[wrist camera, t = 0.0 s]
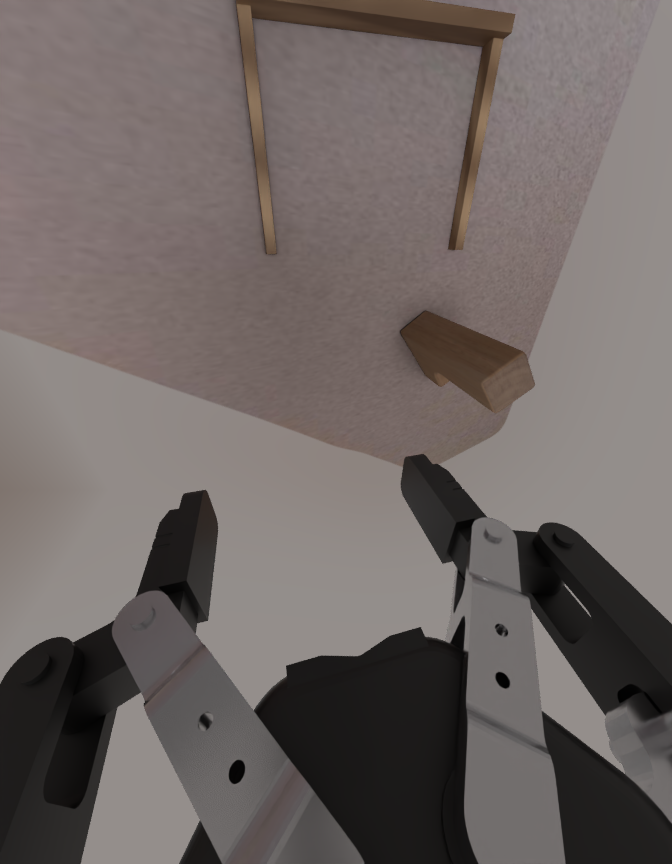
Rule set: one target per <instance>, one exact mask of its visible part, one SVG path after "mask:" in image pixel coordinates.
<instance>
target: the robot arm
mask: <svg viewBox="0 0 672 864" xmlns="http://www.w3.org/2000/svg"><path fill="white" fill-rule="evenodd" d="M401 490H402V494H403V497H404V498H405V500H406V502H407V504H408V505H409V507H410V508H411V510H412V512H413V514H414V516H415V517H416V519H417V521H418V522H419V524H420V526H421V527H422V529H423V531H424V533H425V534H426V536H427V538H428V539H429V541H430V543H431V544H432V546H433V548H434V550H435V551H436V553H437V555H438V556H439V558H440V560H441V562H442V563H447V562H451V561H453V562H454V564H455V565H456V567H457V568H456V571H455V579H454V587H453V597H452V606H451V615H450V621H449V626H448V630H447V634H446V640H445V641H443V640H439V639H437V638H431V637H425V636H424V634H423V631H422V629H421V627H419V628H416V629H412V630H409V631H405V632H402V633H399V634H395V635H391V636H389V637H388V638H386V639H385V640H383V641H382V642H380V643H379V644H377V645H376V646H374V647H373V648H371V649H370V650H368V651H367V652H365V653H364V654H362V655H360V656H318V657H315V658H311V659H308V660H304V661H301V662H298V663H294V664H291V665H287V666H286V669H287V677H285V678H284V679H282V680H281V681H279V682H278V683H277V684H276V685H275V686H273V687H272V688H271V689H270V690H269V691H268V692H267V694H266V695H265V696H264V697H263V698H262V700H261V701H260V702H259V704H258V705H257V706H256V708H255V709H254V711H253V709H252V708H251V707H250V705H249V704H248V703H247V702H246V700H245V699H244V697H243V696H242V694H241V693H240V692H239V690H238V689H237V688H236V686H235V685H234V684H233V682H232V681H231V680H230V678H229V677H228V676H227V674H226V673H225V672H224V670H223V669H222V668H221V666H220V665H219V664H218V662H217V661H216V659H215V658H214V657H213V655H212V654H211V653H210V651H209V650H208V649H207V648H206V646H205V645H203V643H202V642H201V641H200V639H199V638H198V637H197V635H196V627H197V623H200V622H204V621H208V616H209V607H210V597H211V589H212V580H213V572H214V562H215V553H216V545H217V535H218V523H217V518H216V515H215V512H214V509H213V506H212V504H211V501H210V498H209V495H208V493H207V491H206V490H202V491H196V492H190V493H185V494H184V495H183V496H182V500H181V503H180V507H179V509H174V510H170V511H169V512H168V513H167V514H166V516H165V517H164V518H163V519H162V521H161V522H160V524H159V527H158V530H157V533H156V539H155V540H154V542H153V545H152V550H151V552H150V555H149V558H148V561H147V565H146V567H145V571H144V574H143V577H142V580H141V583H140V586H139V589H138V592H137V595H136V597H135V598H134V599H132V600H131V601H130V602H128V603H127V604H126V605H125V606H124V607H123V608H122V610H121V611H120V612H119V613H118V615H117V617H116V619H115V620H114V621H113V622H111V623H110V624H108V625H106V626H104V627H102V628H100V629H98V630H96V631H94V632H93V633H91V634H89V635H87V636H85V637H83V638H81V639H79V640H77V641H75V642H72V641H70V640H69V639H67V638H64V637H56V638H51V639H49V640H46V641H44V642H42V643H39V644H38V645H36V646H35V647H33V648H32V649H30V650H29V651H27V652H26V653H25V654H24V655H23V656H21V657H20V658H19V659H18V660H17V661H16V662H15V663H14V664H13V666H12V667H11V668H10V669H9V671H8V672H7V673H6V675H5V676H4V678H3V680H2V682H1V684H0V864H80V863H81V859H82V855H83V851H84V847H85V842H86V838H87V834H88V829H89V825H90V821H91V817H92V813H93V808H94V804H95V800H96V796H97V791H98V787H99V783H100V778H101V774H102V770H103V765H104V762H105V757H106V753H107V749H108V745H109V740H110V736H111V732H112V728H113V724H114V719H115V715H116V710H117V707H118V706H120V705H122V704H123V703H125V702H126V701H128V700H129V699H131V698H132V697H134V696H136V695H137V694H139V693H142V695H143V697H144V700H145V703H144V708H145V711H146V713H147V716H148V718H149V720H150V722H151V724H152V726H153V728H154V730H155V732H156V734H157V736H158V738H159V740H160V742H161V744H162V745H163V748H164V749H165V752H166V753H167V755H168V757H169V759H170V761H171V763H172V765H173V767H174V769H175V771H176V773H177V775H178V777H179V779H180V781H181V783H182V785H183V787H184V789H185V791H186V793H187V795H188V797H189V799H190V801H191V803H192V805H193V807H194V809H195V811H196V813H197V815H198V817H199V819H200V821H199V823H198V826H197V828H196V830H195V832H194V834H193V836H192V838H191V840H190V842H189V844H188V846H187V848H186V851H185V853H184V855H183V857H182V859H181V861H180V863H179V864H672V624H671V623H670V622H669V621H668V620H667V619H666V618H665V617H664V616H663V615H662V614H661V613H660V612H659V611H658V610H656V608H655V607H653V605H652V604H650V603H649V602H648V601H647V600H646V599H645V598H644V597H643V596H642V595H641V594H640V593H639V592H638V591H637V590H636V589H635V588H634V587H633V586H632V585H631V584H630V583H629V582H628V581H627V580H626V579H625V578H624V577H623V576H622V575H620V574H619V572H618V571H617V570H615V569H614V567H612V566H611V565H610V564H609V563H608V562H607V561H606V560H605V559H604V558H603V557H602V556H601V555H600V554H599V553H598V552H597V551H596V550H595V549H594V548H593V547H592V546H591V545H590V544H589V543H588V542H587V541H586V540H585V539H584V538H583V537H582V536H580V535H579V534H578V533H577V532H576V531H574V530H572V529H571V528H569V527H567V526H565V525H562V524H558V523H545V524H543V525H541V526H540V528H539V530H538V532H527V531H515V530H511V529H510V528H509V527H508V526H507V525H506V524H504V523H503V522H501V521H499V520H496V519H493V518H488V517H487V516H486V515H485V514H484V513H483V512H482V511H481V510H480V508H479V507H478V506H477V505H476V504H475V502H474V501H473V500H472V499H471V498H470V496H469V495H468V494H467V493H466V492H465V491H464V489H462V487H461V486H460V484H459V483H458V482H456V480H455V478H454V477H453V476H452V475H451V474H450V473H449V471H447V470H446V469H444V468H443V467H441V466H440V465H438V464H432V463H431V462H430V461H429V459H428V458H427V457H426V456H425V455H424V454H420V455H414V456H408V457H406V458H405V459H404V465H403V472H402V478H401ZM564 584H566V585H567V586H568V587H569V589H570V590H571V591H572V592H573V593H574V595H575V596H576V597H577V598H578V599H579V601H580V602H581V603H582V604H583V605H584V607H585V608H586V609H587V610H588V612H589V613H590V615H591V617H590V616H589V615H588V614H587V612H586V611H585V610H584V609H583V608H582V606H581V605H580V604H579V603H578V602H577V600H576V599H575V598H574V597H573V596H572V594H571V593H570V592H569V591H568V590H567V589H566V587H565V586H564ZM531 609H532V610H533V612H534V613H535V614H536V616H537V617H538V619H539V620H540V622H541V623H542V625H543V626H544V628H545V629H546V630H547V632H548V633H549V635H550V636H551V638H552V639H553V640H554V642H555V643H556V645H557V646H558V648H559V649H560V651H561V652H562V653H563V655H564V656H565V658H566V659H567V661H568V662H569V664H570V665H571V667H572V668H573V669H574V671H575V672H576V674H577V675H578V677H579V678H580V680H581V681H582V682H583V684H584V685H585V687H586V688H587V690H588V691H589V693H590V694H591V695H592V697H593V698H594V700H595V701H596V703H597V704H598V706H599V707H600V708H601V710H602V711H603V713H604V714H605V716H606V718H605V726H606V730H607V734H608V737H609V739H610V741H609V745H610V748H611V751H612V753H613V755H614V756H615V758H616V759H617V760H618V761H619V762H620V763H621V764H622V765H623V768H624V770H625V774H624V773H623V772H621V771H620V770H619V769H617V768H616V767H615V766H613V765H612V764H611V763H610V762H608V761H607V760H606V759H604V758H603V757H602V756H600V755H599V754H598V753H596V752H595V751H594V750H592V749H591V748H590V747H588V746H587V745H586V744H585V743H583V742H582V741H581V740H579V739H578V738H577V737H576V736H574V735H573V734H572V733H570V732H569V731H568V730H566V729H565V728H564V727H562V726H561V725H560V724H558V723H557V722H556V721H555V720H553V719H552V718H551V717H549V716H548V715H547V714H545V713H544V712H543V711H542V710H541V700H540V691H539V681H538V671H537V663H536V652H535V642H534V633H533V623H532V614H531Z"/></svg>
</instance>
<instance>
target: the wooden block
mask: <svg viewBox="0 0 672 864" xmlns="http://www.w3.org/2000/svg"><path fill="white" fill-rule="evenodd" d="M401 335H402V337H403V338H404V340H405V342H406V343H407V345H408V347H409V348H410V350H411V352H412V353H413V355H414V357H415V359H416V360H417V362H418V364H419V365H420V367H421V369H422V370H423V372H424V374H425V375H426V376H427V377H428V378H429V379H430V380H432V381H433V382H434V383H435V384H437V385H438V386H440V387H442V386H443V385H445V384H446V383H447V382H449V381H451V382H452V383H454V384H455V385H456V386H458V387H459V388H460V389H462V390H463V391H465V392H466V393H467V394H469V395H470V396H471V397H473V398H474V399H476V400H477V401H478V402H480V403H481V404H482V405H484V406H485V407H487V408H488V409H489V410H491V411H492V412H494V413H497V412H499V411H501V410H502V409H504V408H505V407H507V406H508V405H509V404H511V403H512V402H514V401H515V400H516V399H518V398H519V397H521V396H522V395H524V394H525V393H526V392H528V391H529V390H531V389H532V388H533V387H534V386H535V383H534V380H533V376H532V373H531V370H530V366H529V363H528V359H527V356H526V354H525V353H524V352H523V351H521V350H518V349H516V348H514V347H511V346H509V345H507V344H504V343H502V342H499V341H497V340H495V339H492V338H490V337H488V336H485V335H483V334H480V333H478V332H476V331H473V330H471V329H469V328H466V327H464V326H461V325H459V324H457V323H454V322H452V321H450V320H447V319H445V318H442V317H440V316H438V315H435V314H433V313H431V312H428V311H425V312H423V313H422V314H421V315H420V316H418V317H417V318H416V319H415V320H413V321H412V322H411V323H410V324H409V325H407V326H406V327H405V328H404V329H402V330H401Z"/></svg>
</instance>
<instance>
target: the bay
mask: <svg viewBox="0 0 672 864" xmlns="http://www.w3.org/2000/svg"><path fill="white" fill-rule="evenodd" d="M236 7H237V16H238V24H239V32H240V40H241V49H242V57H243V65H244V73H245V82H246V90H247V98H248V106H249V115H250V123H251V131H252V139H253V148H254V156H255V164H256V172H257V181H258V189H259V197H260V205H261V214H262V222H263V230H264V238H265V247H266V254H277V253H276V244H275V234H274V225H273V215H272V205H271V196H270V186H269V177H268V167H267V158H266V148H265V139H264V129H263V120H262V110H261V100H260V91H259V81H258V72H257V62H256V53H255V43H254V34H253V24H252V18H257V19H265V20H273V21H281V22H289V23H297V24H305V25H313V26H321V27H329V28H337V29H345V30H353V31H361V32H369V33H377V34H385V35H393V36H401V37H409V38H417V39H425V40H433V41H441V42H449V43H457V44H465V45H473V46H481V47H483V49H482V55H481V61H480V66H479V72H478V78H477V84H476V90H475V96H474V102H473V107H472V113H471V119H470V125H469V131H468V137H467V142H466V148H465V154H464V160H463V166H462V172H461V177H460V183H459V189H458V195H457V201H456V207H455V212H454V218H453V224H452V230H451V236H450V242H449V247H448V249H450V250H463V245H464V239H465V234H466V229H467V224H468V219H469V214H470V209H471V203H472V198H473V193H474V188H475V183H476V178H477V173H478V167H479V162H480V157H481V152H482V147H483V142H484V137H485V131H486V126H487V121H488V116H489V111H490V106H491V100H492V95H493V90H494V85H495V80H496V75H497V70H498V64H499V59H500V54H501V49H502V44H503V39H504V38H506V37H507V36H508V35H509V34H511V33H512V28H513V23H514V18H515V14H511V13H504V12H498V11H491V10H485V9H478V8H472V7H465V6H458V5H452V4H445V3H439V2H432V1H426V0H236Z"/></svg>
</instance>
